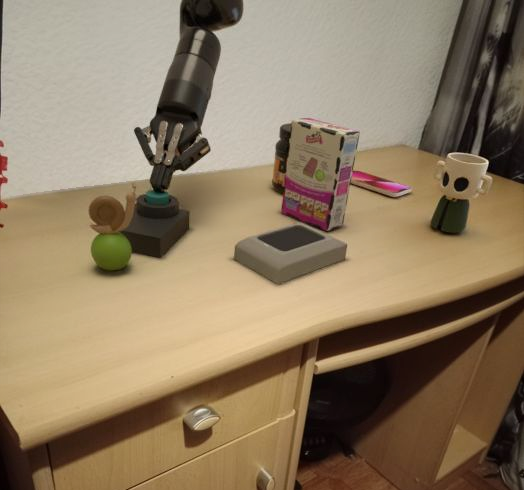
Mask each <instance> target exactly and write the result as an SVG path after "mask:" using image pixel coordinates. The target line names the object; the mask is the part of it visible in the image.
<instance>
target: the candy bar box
mask: <svg viewBox="0 0 524 490" xmlns="http://www.w3.org/2000/svg"><path fill="white" fill-rule="evenodd" d="M360 135H361V131H359V130H355V129H351V128H348V127H345V126H341V125H337V124H335V123H334V124H333V123H330V122H325V121H323V120H318V119H315V118H312V117H302V118H297V119H291V131H290V140H289V149H288V157H287V166H286V175H285V183H284V192H283V194H282V200H281V201H282V202H281V211H280V213H281V214H283V215H285V216H288V217H290V218H293V219H294V220H298V221H299V222H301V223H304V224H306V225H309V226H311V227H315V228H318V229H319V230H322V231H325V232H330V231H333V230H337V229H339V228H341V227H343V226H344V221H345V215H346V211H347V210H346V209H347V204H348V198H349V194H350V189H351V184H352V183H351V177H352V172H353V171H354V166H355V162H356V155H357V150H358V144H359V140H360Z"/></svg>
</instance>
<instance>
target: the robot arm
mask: <svg viewBox="0 0 524 490" xmlns="http://www.w3.org/2000/svg"><path fill="white" fill-rule="evenodd" d="M243 14H244V0H180V4H179V24H178V25H179V27H178V30H179V38H178V39H179V40H178V43H177V45H176V49H175V52H174V55H173V59H172V61H171V64H170V65H169V68H168V70H167V73H166V76H165V79H164V83H163V86H162V89H161V92H160V96H159V99H158V102H157V105H156V110H155V115H154V117H152V118H151V120H150V121H149V125H148V126H145V127H143V128H141V127H140V126H136V127H134V129H133V132H134V135H135V137H136V139H137V141H138V144H139V146H140V148H141V151H142V153H143V155H144V157H145V159H146V161H147V163H148V164H149V166H150V167H152V171H151V174H150V177H149V185H150V186H151V188H152V190H154V191H155V192H161V193H164V191H167V190H168V189H169V188H170V185H171V182H172V179H173V175H174V173H176V171H181V172H186V171H187V170H189V169H190V168H191V167H192V166H194V165H195V164H196V163H198V162H199V161H200V160H202V159H203V158H205V156H207V155H208V154H209V153H210V152H211V150H212V149H211V146H210V142H209V141H208V138H206V137H203V132H202V126H203V123H204V119H205V116H206V112H207V109H208V105H209V102H210V101H211V99H212V92H213V88H214V87H213V86H214V81H215V80H214V79H215V76H216V72H217V69H218V65H219V62H220V58H221V53H222V46H221V45H222V44H221V41H220V39H219V38H218V36H217V35H216V33H214V32H219V31H221V30H225V29H228V28H231V27H234V26H236V25H238V24H239V23H240V22H241V20H242V18H243V16H244V15H243ZM152 136H153V138H154V141H155V154H154V153H153V150H152V148H151V145H150V143H151V142H152Z"/></svg>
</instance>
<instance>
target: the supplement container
mask: <svg viewBox="0 0 524 490" xmlns="http://www.w3.org/2000/svg"><path fill="white" fill-rule="evenodd" d="M290 131H291V123H290V122H289V123H284V124H282V125H280V126H279V131H278V132H279V133H278V138H279V139H278V140H277V141H276V143H275V145H274V150H275V151H274V161H273V162H274V163H273V171H272V179H271V186H272V188H273V189H274V190H275V191H277V192H278V193H280V194H282V195H283V192H284V183H285V175H286V166H287V157H288V149H289V140H290Z"/></svg>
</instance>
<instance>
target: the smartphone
mask: <svg viewBox="0 0 524 490" xmlns="http://www.w3.org/2000/svg"><path fill="white" fill-rule="evenodd" d="M350 184H353V185H355V186H359V187H362V188H365V189H367V190H371V191H374V192H377V193H379V194H383V195H386V196H389V197H392V198H398V197H401V196H404V195H406V194H408V193H409V194H410V193H411V192H412V187H411V186H409V185H406V184H402V183H400V182H396V181H394V180H390V179H387V178H383V177H380V176H376V175H373V174H371V173H367V172H365V171H360V170H353V172H352V177H351V183H350Z"/></svg>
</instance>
